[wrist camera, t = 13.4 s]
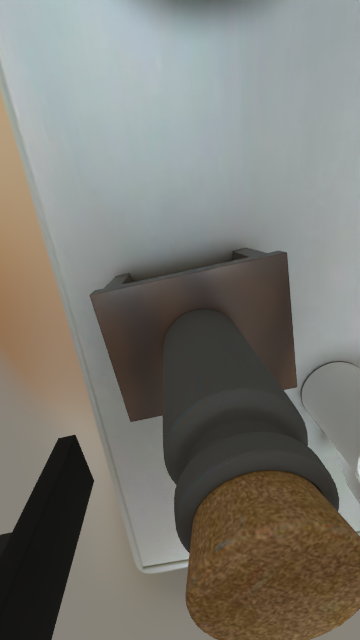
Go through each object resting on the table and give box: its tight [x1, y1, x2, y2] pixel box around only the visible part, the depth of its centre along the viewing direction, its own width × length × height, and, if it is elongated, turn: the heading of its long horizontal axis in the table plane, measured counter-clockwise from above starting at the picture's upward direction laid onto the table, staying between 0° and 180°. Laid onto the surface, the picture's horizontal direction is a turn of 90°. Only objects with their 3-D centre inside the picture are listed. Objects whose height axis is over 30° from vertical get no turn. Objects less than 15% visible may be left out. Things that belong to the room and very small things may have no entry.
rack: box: [90, 248, 297, 422], centre depth 25 cm, size 14×11×9 cm
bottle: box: [163, 309, 360, 640], centre depth 14 cm, size 6×6×15 cm
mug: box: [302, 362, 360, 503], centre depth 29 cm, size 12×8×10 cm, turn 0°
